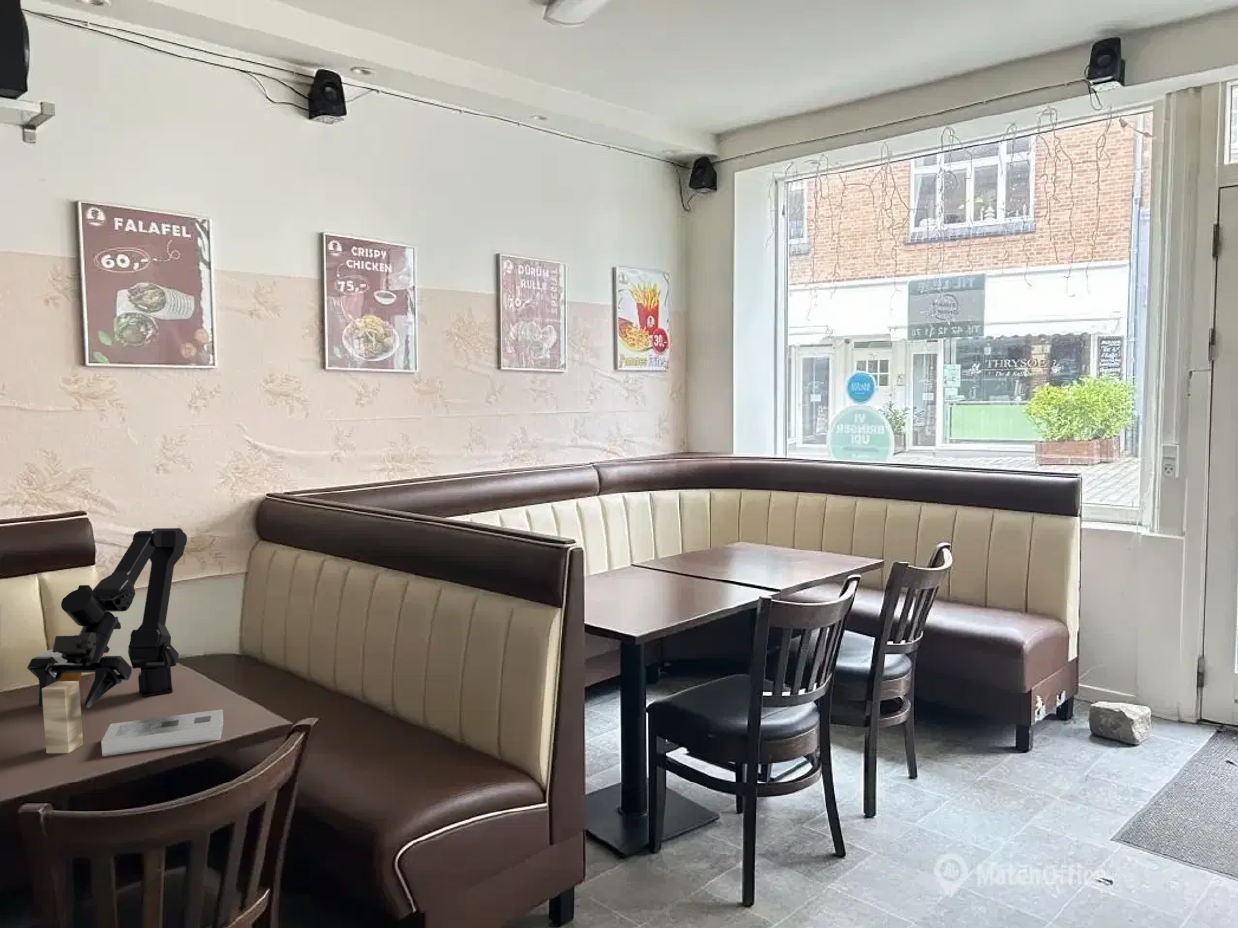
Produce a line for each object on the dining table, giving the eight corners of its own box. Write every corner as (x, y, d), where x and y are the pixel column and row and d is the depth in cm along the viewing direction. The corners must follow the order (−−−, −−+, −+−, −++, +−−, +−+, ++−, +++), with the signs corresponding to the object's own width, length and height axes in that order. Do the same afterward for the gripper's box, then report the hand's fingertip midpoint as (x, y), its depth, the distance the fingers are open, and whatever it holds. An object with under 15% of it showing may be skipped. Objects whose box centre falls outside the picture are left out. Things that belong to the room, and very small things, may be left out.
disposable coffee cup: (93, 702, 203) (90, 651, 203) (45, 713, 197) (41, 660, 196) (80, 693, 210) (77, 643, 209) (33, 704, 203) (29, 652, 202)
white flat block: (223, 722, 189) (222, 708, 189) (220, 739, 180) (219, 724, 180) (111, 737, 182) (110, 723, 182) (102, 756, 172) (101, 740, 172)
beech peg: (61, 744, 179) (56, 681, 178) (83, 743, 179) (78, 681, 178) (46, 753, 175) (41, 688, 174) (68, 752, 174) (64, 688, 173)
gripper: (30, 618, 181) (-6, 688, 171) (120, 617, 180) (90, 687, 170) (57, 645, 189) (25, 714, 179) (144, 644, 189) (116, 713, 179)
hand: (63, 707), depth 177 cm, fingers open, 9 cm apart
